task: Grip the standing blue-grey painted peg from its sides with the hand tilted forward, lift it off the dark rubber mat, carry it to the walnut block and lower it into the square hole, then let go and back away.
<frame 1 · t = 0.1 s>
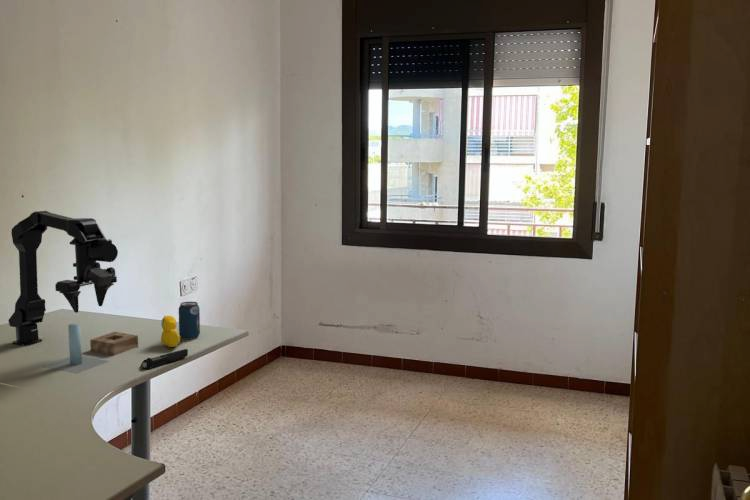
hand: (88, 309, 195), 15 cm above the table, tool pointing down, fingers open, 9 cm apart
duckling: (170, 346, 208), on the table
electric trimmer: (164, 364, 192), on the table
mat: (76, 364, 188), on the table
soda can: (189, 337, 219), on the table
peg: (76, 363, 188), resting on mat
hole block: (114, 349, 203), on the table
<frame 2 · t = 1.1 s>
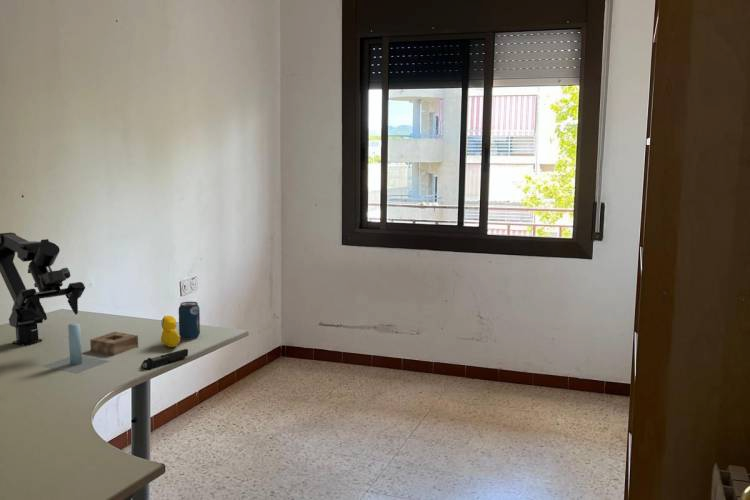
hand: (61, 316, 191), 13 cm above the table, tool tilted 45°, fingers open, 9 cm apart
nothing on the table moved.
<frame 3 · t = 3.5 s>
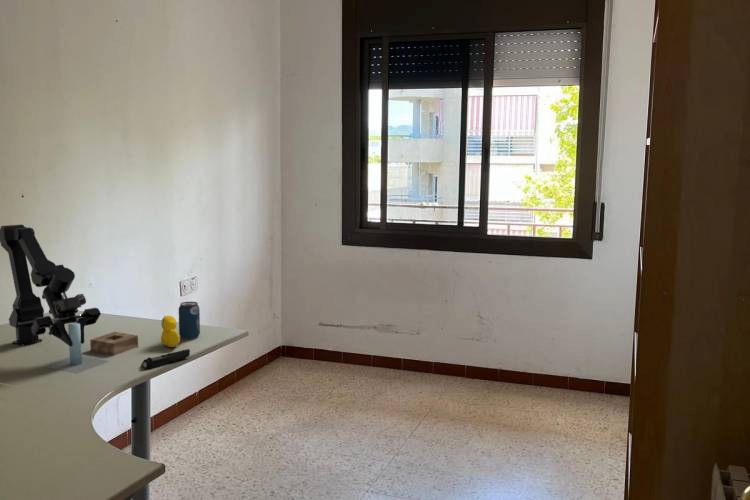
hand: (77, 344, 186), 7 cm above the table, tool tilted 45°, fingers closed on peg, 3 cm apart
peg: (76, 363, 188), resting on mat, touching gripper
everything else where it was.
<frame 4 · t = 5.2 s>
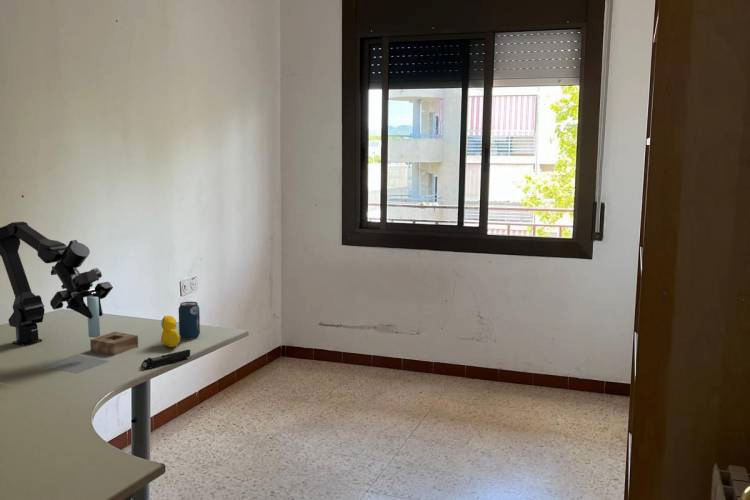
hand: (96, 316, 191), 13 cm above the table, tool tilted 45°, fingers closed on peg, 3 cm apart
peg: (94, 335, 193), point 7 cm above the table, touching gripper
everything else where it was.
when the fingers open (8 cm above the table, at t = 7.4 s): peg drops 2 cm, resting in hole block.
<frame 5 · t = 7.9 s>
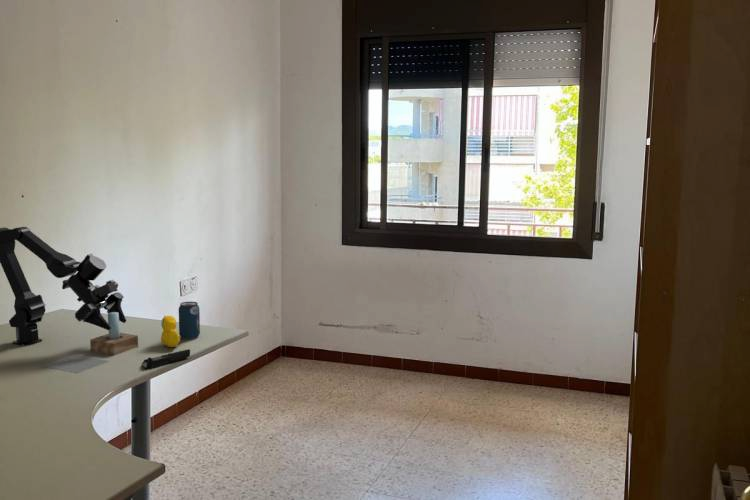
hand: (117, 325, 202), 8 cm above the table, tool tilted 45°, fingers open, 8 cm apart
peg: (114, 349, 203), resting in hole block
everything else where it was.
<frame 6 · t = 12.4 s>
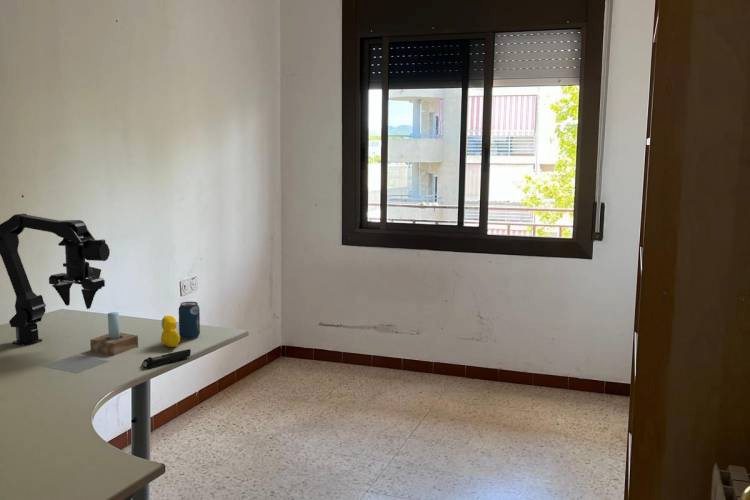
hand: (78, 307, 204), 13 cm above the table, tool pointing down, fingers open, 9 cm apart
nothing on the table moved.
at the end: peg 0.0 cm off-centre on the hole block, point 0.0 cm above the hole block's base; peg tilted 0°; the gripper is holding nothing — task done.
